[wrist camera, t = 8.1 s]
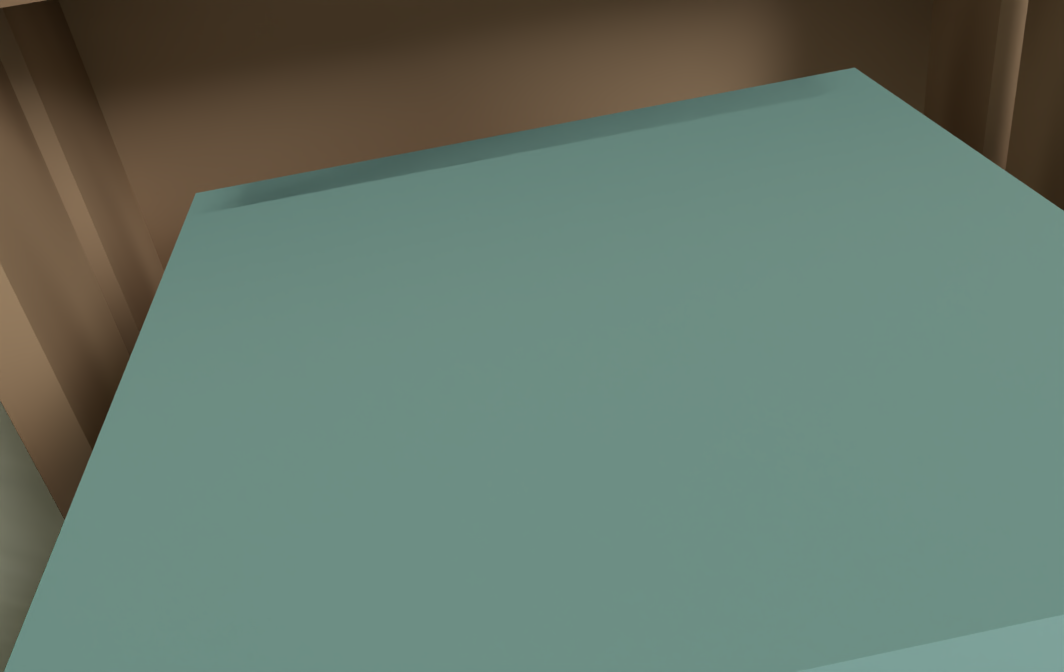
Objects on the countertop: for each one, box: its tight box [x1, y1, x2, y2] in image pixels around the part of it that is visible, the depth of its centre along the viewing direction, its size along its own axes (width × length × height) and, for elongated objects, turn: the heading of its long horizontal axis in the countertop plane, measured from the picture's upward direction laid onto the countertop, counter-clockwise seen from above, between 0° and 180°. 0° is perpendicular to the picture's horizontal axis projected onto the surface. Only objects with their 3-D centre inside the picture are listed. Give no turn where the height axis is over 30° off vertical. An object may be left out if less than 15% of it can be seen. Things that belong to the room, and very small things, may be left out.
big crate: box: [0, 0, 1064, 520], centre depth 14 cm, size 14×14×5 cm
